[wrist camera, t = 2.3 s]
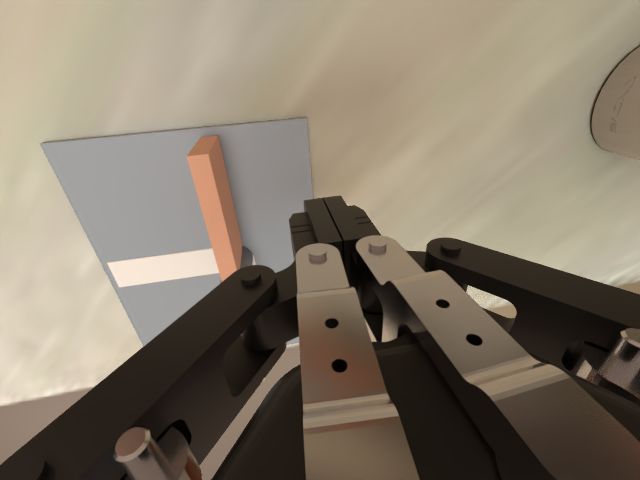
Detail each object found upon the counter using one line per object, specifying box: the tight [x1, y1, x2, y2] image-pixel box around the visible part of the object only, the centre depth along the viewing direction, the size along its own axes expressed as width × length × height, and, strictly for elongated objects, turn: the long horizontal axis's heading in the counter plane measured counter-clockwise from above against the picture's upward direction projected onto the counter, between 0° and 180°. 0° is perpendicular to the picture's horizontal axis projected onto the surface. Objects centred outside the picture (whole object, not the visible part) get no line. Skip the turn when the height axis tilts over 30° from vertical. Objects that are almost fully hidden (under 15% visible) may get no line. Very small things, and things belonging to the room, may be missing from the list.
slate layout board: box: [40, 117, 313, 380], centre depth 25 cm, size 18×23×6 cm
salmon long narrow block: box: [186, 135, 242, 282], centre depth 22 cm, size 9×1×5 cm, turn 4°
